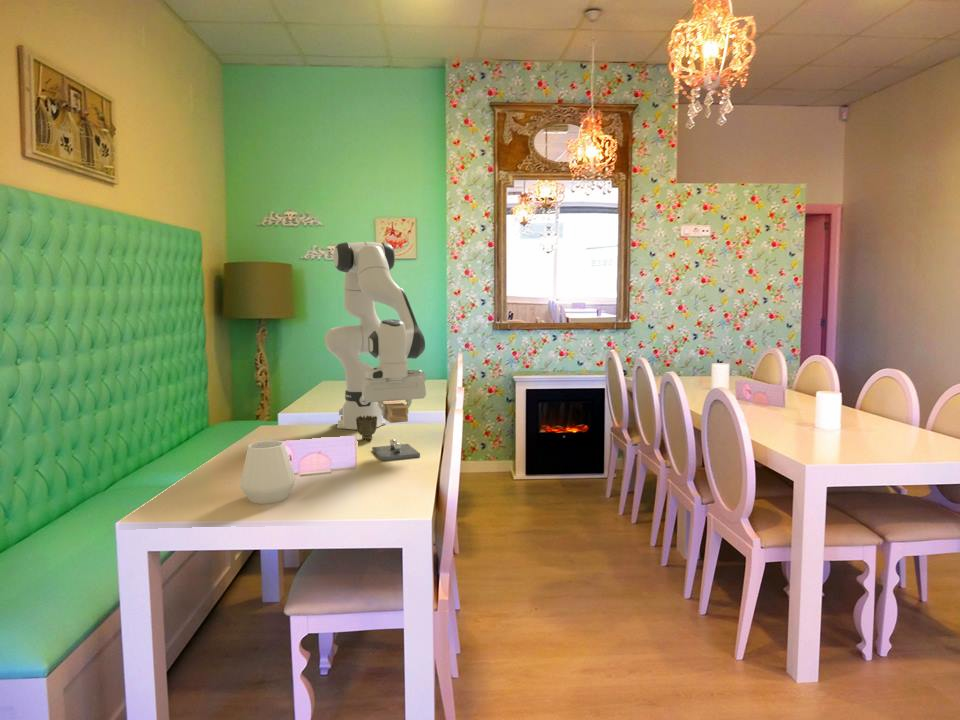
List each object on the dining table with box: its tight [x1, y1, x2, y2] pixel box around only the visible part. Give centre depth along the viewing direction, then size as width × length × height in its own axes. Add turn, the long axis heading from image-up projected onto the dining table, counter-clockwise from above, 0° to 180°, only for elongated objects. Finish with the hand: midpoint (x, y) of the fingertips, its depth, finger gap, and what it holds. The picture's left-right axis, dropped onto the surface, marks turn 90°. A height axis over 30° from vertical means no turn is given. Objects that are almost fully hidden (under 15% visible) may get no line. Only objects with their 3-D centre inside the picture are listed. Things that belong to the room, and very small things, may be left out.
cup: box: [356, 415, 377, 441], centre depth 229 cm, size 8×7×8 cm
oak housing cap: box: [382, 400, 409, 424], centre depth 207 cm, size 10×6×5 cm, turn 22°
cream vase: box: [239, 439, 296, 505], centre depth 165 cm, size 13×13×14 cm
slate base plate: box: [371, 439, 421, 462], centre depth 208 cm, size 14×12×4 cm
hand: (394, 414), depth 207 cm, fingers closed on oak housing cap, 5 cm apart
